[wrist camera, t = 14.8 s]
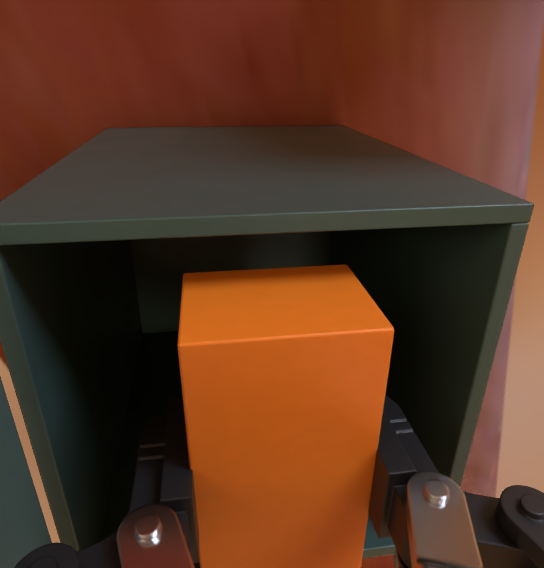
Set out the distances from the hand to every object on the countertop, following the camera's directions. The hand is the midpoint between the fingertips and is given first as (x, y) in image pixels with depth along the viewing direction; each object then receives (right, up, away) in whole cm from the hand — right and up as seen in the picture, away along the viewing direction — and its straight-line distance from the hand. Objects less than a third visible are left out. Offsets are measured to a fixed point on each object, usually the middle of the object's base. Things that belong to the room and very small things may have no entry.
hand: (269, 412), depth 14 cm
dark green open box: (-2, +7, +14) cm, 16 cm away
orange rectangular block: (0, 0, +1) cm, 1 cm away
